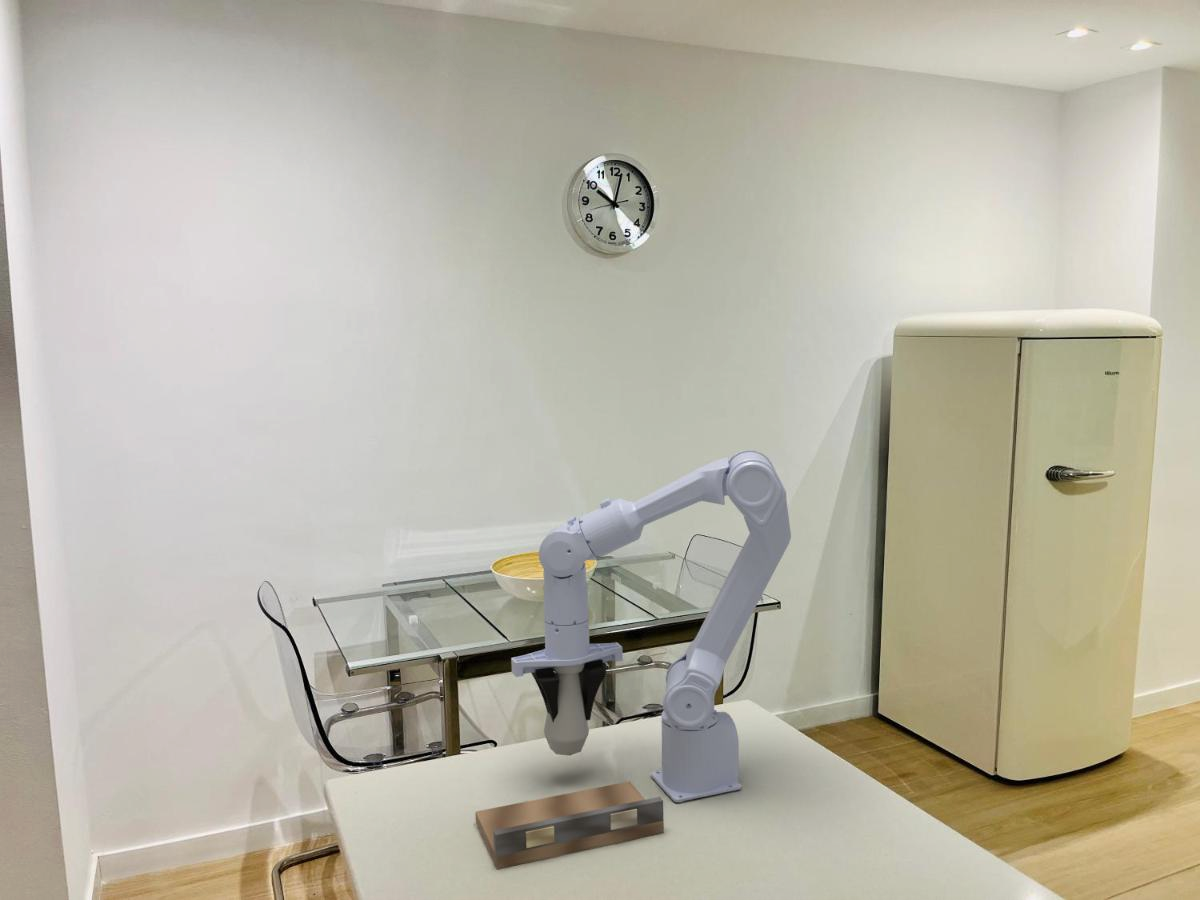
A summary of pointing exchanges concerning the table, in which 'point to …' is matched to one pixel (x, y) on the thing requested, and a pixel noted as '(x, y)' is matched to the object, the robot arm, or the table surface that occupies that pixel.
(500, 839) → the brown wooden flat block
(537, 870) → the table surface
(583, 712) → the salt shaker
